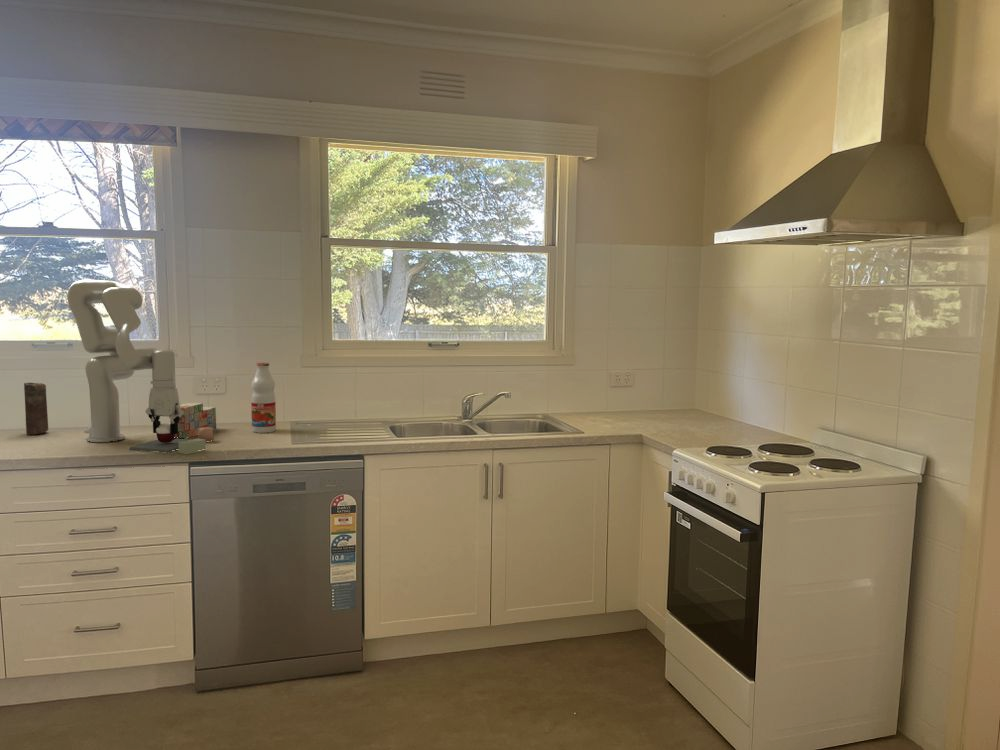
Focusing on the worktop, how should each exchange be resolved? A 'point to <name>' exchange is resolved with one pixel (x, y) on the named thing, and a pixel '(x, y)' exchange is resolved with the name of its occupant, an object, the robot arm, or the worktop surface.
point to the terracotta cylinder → (205, 433)
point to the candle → (35, 408)
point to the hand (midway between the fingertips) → (165, 432)
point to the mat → (158, 446)
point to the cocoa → (163, 432)
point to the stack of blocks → (195, 419)
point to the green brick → (191, 446)
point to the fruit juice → (263, 400)
